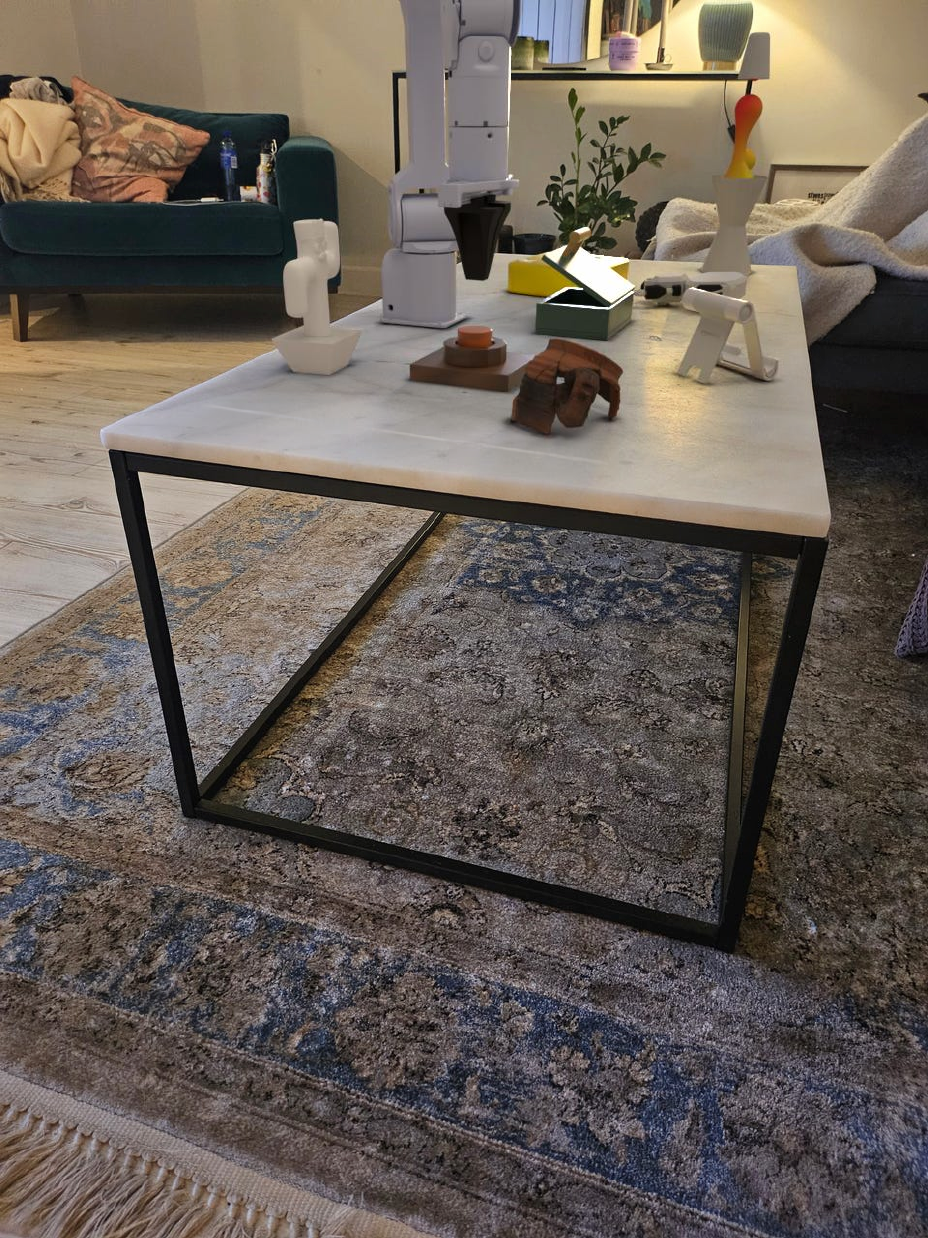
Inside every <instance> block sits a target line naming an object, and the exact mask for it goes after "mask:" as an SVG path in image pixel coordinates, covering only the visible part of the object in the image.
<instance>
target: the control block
mask: <svg viewBox="0 0 928 1238" xmlns="http://www.w3.org/2000/svg"><path fill="white" fill-rule="evenodd" d="M442 344H443V345H442V347H440V348H438V349H436V350H434V351H432V352H431V353H429V354H426V355H425V356H423V357H421V358H419V359H418V360H415V361H413V362H412V363H410V364H409V381H413V382H420V383H429V384H437V385H445V386H454V387H462V388H470V389H479V390H486V391H487V390H488V391H494V392H495V391H497V392H504V393H509V392H510V391H512V390H513V389H515V387H518V385H521V383H522V382H521V380H522V378H523V376H524V374H526V371H525V367H526V366H527V365H528V363H529V361H530V360H532V359H533V358H534V357H535V356H536V355H537V354H536V355H535V354H527V353H526V354H525V353H517V352H509V351H507V347H508V346H507V345H508V344H507V342H506V341H505V340H504V339H502V338H499V337H496V336H495V337H494V336H492V345H491V346H486V347H464V346H460V345H458V336H454V337H449V338H447V339H445V340H444V341H443V342H442Z"/></svg>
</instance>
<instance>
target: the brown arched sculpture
mask: <svg viewBox="0 0 928 1238" xmlns="http://www.w3.org/2000/svg"><path fill="white" fill-rule="evenodd" d="M525 371H526V374H524V376H523V378H522V380H521V383H520V384H519V392H518V394H517V395H516V396H515V397H514V398H513V400H512V408H511V415H510V418H509V419H510V421H514V422H517V423H519V424H520V425H521V426H524V427H526V428H529V429H532V430H534V431H537V432H539V433H541V434H544V435H546V436H549V435H550V434H551V429H552V425H553V423H554V421H555V418H556V417H557V419H558V421H559V422H560V424H561V425H562V426H564V427H565V428H567V429H573V428H580V427H583V426H584V424H585V422H586V420H587V419H588V416H589V412H590V410H591V406H592V405H593V403H594V402H595V400H596V398H597V395H598V396H599V397H601V398H602V399H603V400H604V401H606V402H607V403H608V404H609V405H608V413H607V417H608V419H609V420H612V419H614V418H616V417H618V416H617V415H618V411H619V410H620V404H621V385H620V384H619V380H620V378H621V377H622V375H623V373H624V370H623V368H622V367H621V366H620V365H619V364H618V363H617V362H615V361H614V360H612V359H611V358H610V357H608V356H607V355H605V354H603V353H600V352H599V351H597V350H595V349H594V348H591V347H589V346H586V345H584V344H580V343H578V342H575V341H572V340H569V339H568V340H567V339H563V338H556V337H555V338H550V339H549V340H548V343H547V346H546V349H545V350H543V351H540V352H539V353H538V354H536V356H535V357H534V358H533V359H532V360H530V361H529V363H528V365H527V366H526V367H525ZM558 378H561V379H563V382H561V383H557V382H558Z"/></svg>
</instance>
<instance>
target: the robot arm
mask: <svg viewBox="0 0 928 1238" xmlns="http://www.w3.org/2000/svg"><path fill="white" fill-rule="evenodd" d="M398 1H399V4H400V9H401V13H402V19H403V24H404V48H405V78H406V109H407V136H408V138H407V139H408V162H407V164H406V165H405V166H404V167H402V168H401V169H400V170H399V171H398V172H397V173H396V174H395V175H393V177H392V178H391V179H390V181H389V183H388V186H387V205H386V219H387V220H386V221H387V222H386V223H387V231H388V238H389V241H390V243H391V244H392V245H393V247H395V248H390V249H388V250H387V251H386V252H385V254H384V255H383V258H382V262H381V270H380V271H381V272H380V277H381V280H380V282H381V303H382V317H381V318H380V323H385V324H393V325H394V324H395V325H403V326H405V325H406V326H415V327H426V328H435V329H446V328H448V327H450V326H453V325H454V324H456V323H458V322H461V321H463V320H465V319H467V318H468V317H469V315H468V313H463V312H457V311H458V310H457V303H458V302H457V300H458V299H457V296H458V295H457V289H458V288H457V285H458V284H457V281H458V280H457V279H458V278H457V274H458V273H457V272H458V271H457V267H458V266H457V265H458V264H457V262H458V261H457V259H458V257H457V252H458V253H459V256H460V257H459V258H460V262H461V267H462V272H463V275H464V278H465V280H467V281H478V282H479V281H480V282H481V281H482V282H483V281H487V280H489V277H490V274H491V270H492V267H493V261H494V257H495V253H496V248H497V244H498V241H499V238H500V234H501V231H502V229H503V227H504V224H505V222H506V219H507V218H508V216H509V214H510V212H511V209H512V202H511V201H510V200H509V201H508V200H497V198H498V197H501V196H507V197H509V196H513V195H514V189H516V188H519V187H520V179H515V178H514V174H509V173H508V171H509V168H508V167H509V136H510V135H509V132H510V128H509V126H510V102H511V101H510V100H511V99H510V97H511V96H510V93H511V59H512V58H511V56H512V49H511V48H513V47H514V46H515V45H516V43H517V39H518V36H519V31H520V26H521V15H522V0H398ZM445 69H447V95H448V96H447V101H448V103H447V105H448V107H447V109H448V111H447V112H448V115H447V117H448V118H447V119H448V121H447V123H448V128H447V129H448V132H447V131H446V81H445V79H446V77H445V73H446V72H445ZM446 133H448V137H447V138H446V136H447V134H446ZM446 139H448V143H447V140H446ZM447 144H448V149H447ZM447 150H448V164H447ZM428 189H430V190H431V189H437V192H425V193H424V192H421V193H420V192H419V193H415V192H414V193H411V192H410V193H406V192H408V191H409V190H428Z"/></svg>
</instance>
